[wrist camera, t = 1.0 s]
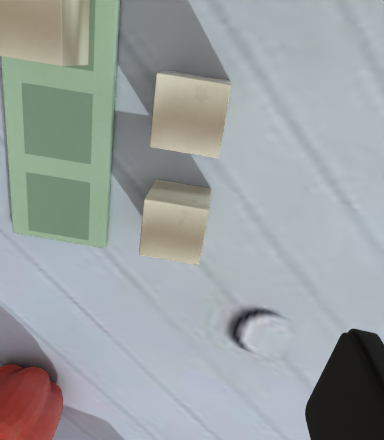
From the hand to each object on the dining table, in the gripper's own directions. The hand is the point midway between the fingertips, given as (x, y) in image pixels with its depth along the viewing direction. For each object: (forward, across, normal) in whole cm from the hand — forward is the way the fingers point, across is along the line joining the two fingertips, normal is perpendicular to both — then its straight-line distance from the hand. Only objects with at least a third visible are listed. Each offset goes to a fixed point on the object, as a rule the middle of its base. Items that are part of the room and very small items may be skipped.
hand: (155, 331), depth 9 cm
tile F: (+23, 0, +6) cm, 24 cm away
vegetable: (+24, +14, +33) cm, 43 cm away
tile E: (+22, +12, -7) cm, 26 cm away
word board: (+23, +12, +1) cm, 26 cm away
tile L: (+23, +1, -3) cm, 23 cm away
